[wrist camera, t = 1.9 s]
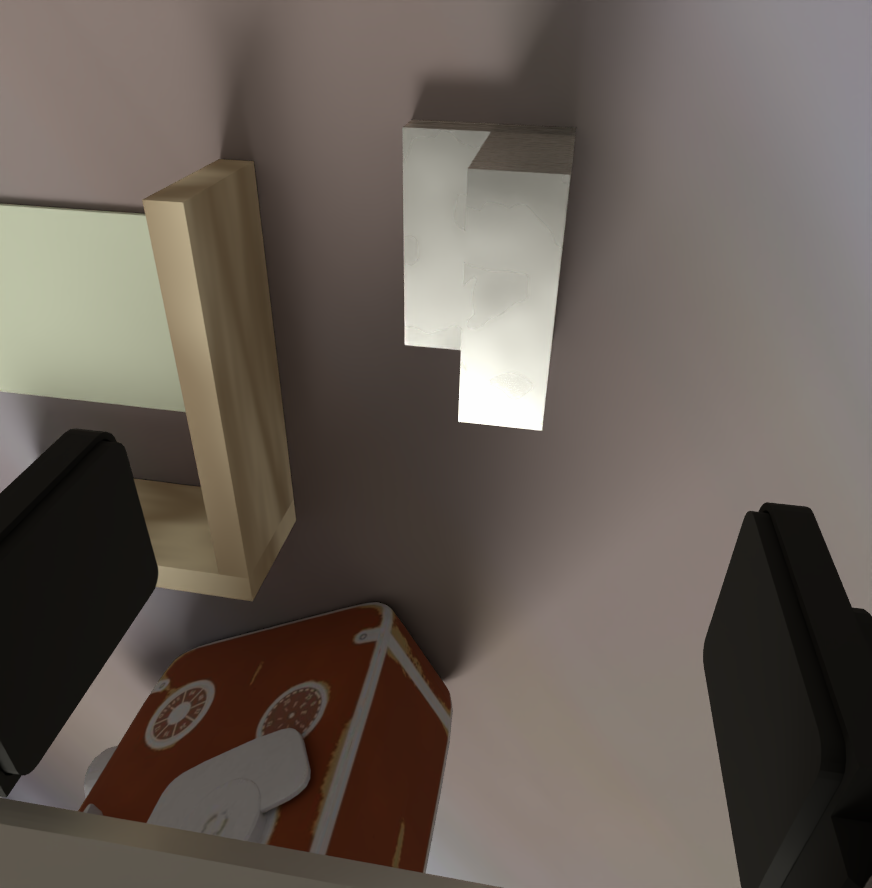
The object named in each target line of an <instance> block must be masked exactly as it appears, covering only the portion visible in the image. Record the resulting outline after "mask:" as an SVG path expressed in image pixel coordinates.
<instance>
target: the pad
mask: <svg viewBox="0 0 872 888" xmlns="http://www.w3.org/2000/svg"><path fill="white" fill-rule="evenodd" d="M0 391H2V392H11V393H20V394H28V395H37V396H46V397H55V398H64V399H73V400H82V401H91V402H100V403H109V404H118V405H127V406H136V407H144V408H153V409H162V410H171V411H180V412H186V411H185V406H184V401H183V396H182V391H181V387H180V382H179V377H178V372H177V367H176V362H175V357H174V352H173V347H172V343H171V338H170V333H169V328H168V323H167V318H166V313H165V308H164V303H163V298H162V294H161V289H160V284H159V279H158V274H157V269H156V264H155V259H154V254H153V249H152V245H151V240H150V235H149V230H148V225H147V220H146V215H145V214H140V213H126V212H112V211H98V210H84V209H70V208H56V207H42V206H28V205H14V204H0Z"/></svg>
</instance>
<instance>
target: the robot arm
mask: <svg viewBox="0 0 872 888" xmlns="http://www.w3.org/2000/svg"><path fill="white" fill-rule="evenodd" d="M157 580H158V566H157V562H156V558H155V555H154V551H153V547H152V544H151V540H150V536H149V533H148V529H147V526H146V522H145V518H144V515H143V511H142V507H141V504H140V500H139V496H138V493H137V489H136V485H135V482H134V478H133V475H132V471H131V467H130V464H129V460H128V456H127V453H126V450H125V447H124V446H123V445H122V444H121V443H118V442H117V441H116V439H115V437H114V436H113V435H112V434H110V433H108V432H102V431H92V430H83V429H70V430H69V431H67V432H65V433H64V434H63V435H62V436H61V437H60V438H59V439H58V440H57V441H56V442H55V443H54V444H52V445H51V446H50V447H49V448H48V449H47V450H46V451H45V452H44V453H43V454H42V455H41V456H40V457H39V458H38V459H36V460H35V461H34V462H33V463H32V464H31V465H30V466H29V467H28V468H27V469H26V470H25V471H24V472H23V473H21V474H20V475H19V476H18V477H17V478H16V479H15V480H14V481H13V482H12V483H11V484H10V485H9V486H8V487H7V488H5V489H4V490H3V491H2V492H1V493H0V796H3V797H7V796H8V795H9V793H10V792H11V790H12V789H13V787H14V786H15V784H16V783H17V781H18V780H19V778H20V777H21V775H26V774H29V773H30V772H31V771H33V770H34V769H35V767H36V766H37V765H38V764H39V762H40V761H41V759H42V758H43V756H44V755H45V753H46V752H47V750H48V749H49V747H50V746H51V744H52V743H53V741H54V740H55V738H56V737H57V735H58V734H59V732H60V731H61V729H62V728H63V726H64V725H65V723H66V722H67V720H68V719H69V717H70V716H71V714H72V713H73V711H74V710H75V708H76V707H77V705H78V704H79V702H80V701H81V699H82V698H83V696H84V695H85V693H86V692H87V690H88V689H89V687H90V686H91V684H92V683H93V681H94V680H95V678H96V677H97V675H98V674H99V672H100V671H101V669H102V668H103V666H104V665H105V663H106V662H107V660H108V659H109V657H110V656H111V654H112V653H113V651H114V650H115V648H116V647H117V645H118V644H119V642H120V641H121V639H122V638H123V636H124V635H125V633H126V632H127V630H128V629H129V627H130V626H131V624H132V623H133V621H134V620H135V618H136V617H137V615H138V614H139V612H140V611H141V609H142V608H143V606H144V605H145V603H146V602H147V600H148V599H149V597H150V596H151V594H152V593H153V591H154V589H155V587H156V584H157ZM703 663H704V670H705V676H706V682H707V688H708V694H709V700H710V706H711V711H712V717H713V723H714V729H715V735H716V741H717V747H718V753H719V759H720V765H721V770H722V776H723V782H724V788H725V794H726V800H727V806H728V812H729V818H730V823H731V829H732V835H733V841H734V847H735V853H736V859H737V865H738V871H739V877H740V882H741V887H742V888H872V616H871V615H870V614H869V613H868V612H867V611H866V610H864V609H859V608H852V607H851V604H850V602H849V599H848V597H847V594H846V592H845V589H844V587H843V585H842V582H841V580H840V577H839V575H838V572H837V570H836V567H835V565H834V563H833V560H832V558H831V555H830V553H829V550H828V548H827V545H826V543H825V541H824V538H823V536H822V533H821V531H820V528H819V526H818V523H817V521H816V519H815V516H814V514H813V512H812V510H811V509H810V508H808V507H805V506H795V505H786V504H777V503H764V504H763V505H762V506H761V508H760V510H759V512H754V511H749V512H747V514H746V515H745V517H744V520H743V523H742V526H741V529H740V533H739V536H738V539H737V542H736V545H735V548H734V551H733V554H732V557H731V560H730V564H729V567H728V570H727V573H726V576H725V579H724V582H723V585H722V588H721V592H720V595H719V598H718V601H717V604H716V607H715V610H714V613H713V616H712V620H711V623H710V626H709V629H708V632H707V635H706V638H705V642H704V649H703ZM0 888H502V887H496V886H491V885H485V884H480V883H475V882H469V881H464V880H458V879H453V878H447V877H442V876H437V875H431V874H426V873H420V872H415V871H409V870H404V869H399V868H393V867H388V866H382V865H377V864H371V863H366V862H360V861H355V860H349V859H344V858H338V857H332V856H327V855H321V854H316V853H310V852H305V851H299V850H293V849H288V848H282V847H277V846H271V845H266V844H260V843H254V842H249V841H243V840H238V839H232V838H226V837H221V836H215V835H210V834H204V833H198V832H193V831H187V830H181V829H176V828H170V827H165V826H159V825H153V824H148V823H142V822H136V821H130V820H125V819H119V818H113V817H107V816H102V815H96V814H90V813H84V812H78V811H73V810H67V809H61V808H55V807H50V806H44V805H38V804H32V803H27V802H21V801H15V800H9V799H3V798H0Z"/></svg>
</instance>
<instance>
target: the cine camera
mask: <svg viewBox="0 0 872 888" xmlns="http://www.w3.org/2000/svg"><path fill="white" fill-rule="evenodd" d="M452 712H453V710H452V703H451V697H450V693H449V691H448V689H447V687H446V686H445V684H444V683H443V681H442V680H441V678H440V677H439V676H438V674H437V673H436V671H435V670H434V668H433V667H432V665H431V664H430V663H429V661H428V660H427V658H426V657H425V655H424V654H423V652H422V651H421V650H420V648H419V647H418V645H417V644H416V642H415V641H414V639H413V638H412V637H411V635H410V634H409V632H408V631H407V629H406V628H405V626H404V625H403V624H402V622H401V621H400V620H399V618H398V617H397V616H396V614H395V613H394V612H393V610H392V609H391V608H390V607H389V606H387V605H385V604H382V603H379V602H373V603H365V604H360V605H356V606H352V607H347V608H343V609H339V610H335V611H331V612H327V613H324V614H320V615H316V616H312V617H308V618H304V619H300V620H296V621H293V622H289V623H285V624H281V625H277V626H273V627H269V628H266V629H262V630H258V631H254V632H250V633H246V634H242V635H238V636H235V637H231V638H227V639H223V640H219V641H215V642H212V643H209V644H205V645H202V646H198V647H196V648H194V649H191V650H189V651H187V652H186V653H184V654H183V655H181V656H179V657H178V658H176V659H175V660H174V661H173V663H172V664H171V665H170V666H169V667H168V669H167V670H166V671H165V673H164V674H163V676H162V677H161V679H160V680H159V682H158V683H157V685H156V686H155V688H154V689H153V691H152V692H151V694H150V695H149V697H148V698H147V700H146V701H145V703H144V704H143V706H142V707H141V709H140V711H139V712H138V714H137V716H136V717H135V719H134V720H133V722H132V724H131V725H130V727H129V729H128V730H127V732H126V734H125V735H124V737H123V738H122V740H121V742H120V743H119V745H118V746H115V747H111V748H108V749H106V750H105V751H103V752H102V753H101V754H100V755H98V756H97V757H95V759H94V760H93V761H92V763H91V764H90V766H89V767H88V769H87V772H86V775H85V781H84V790H85V796H86V799H85V801H84V802H83V804H82V805H81V807H80V809H79V810H78V812H84V813H90V814H96V815H102V816H107V817H113V818H119V819H125V820H130V821H136V822H142V823H148V824H153V825H159V826H165V827H170V828H176V829H181V830H187V831H193V832H198V833H204V834H210V835H215V836H221V837H226V838H232V839H238V840H243V841H249V842H254V843H260V844H266V845H271V846H277V847H282V848H288V849H293V850H299V851H305V852H310V853H316V854H321V855H327V856H332V857H338V858H344V859H349V860H355V861H360V862H366V863H371V864H377V865H382V866H388V867H393V868H399V869H404V870H409V871H415V872H420V873H426V867H427V862H428V857H429V851H430V846H431V841H432V836H433V830H434V825H435V820H436V814H437V809H438V804H439V799H440V793H441V788H442V782H443V776H444V771H445V765H446V759H447V754H448V748H449V742H450V732H451V722H452Z"/></svg>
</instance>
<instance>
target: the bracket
mask: <svg viewBox="0 0 872 888" xmlns="http://www.w3.org/2000/svg"><path fill="white" fill-rule="evenodd" d="M575 136H576V127H557V126H537V125H516V124H496V123H475V122H455V121H434V120H414V119H412V120H411V121H409V122H408V123H407V124H406V125H405V126H403V223H404V321H405V345H412V346H422V347H433V348H443V349H454V350H461V362H460V389H459V417H458V422H467V423H477V424H486V425H495V426H504V427H513V428H523V429H532V430H541V431H542V425H543V417H544V409H545V400H546V392H547V384H548V375H549V367H550V358H551V350H552V342H553V333H554V324H555V315H556V306H557V297H558V288H559V279H560V270H561V261H562V252H563V243H564V234H565V225H566V216H567V207H568V198H569V189H570V180H571V172H572V163H573V154H574V145H575Z"/></svg>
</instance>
